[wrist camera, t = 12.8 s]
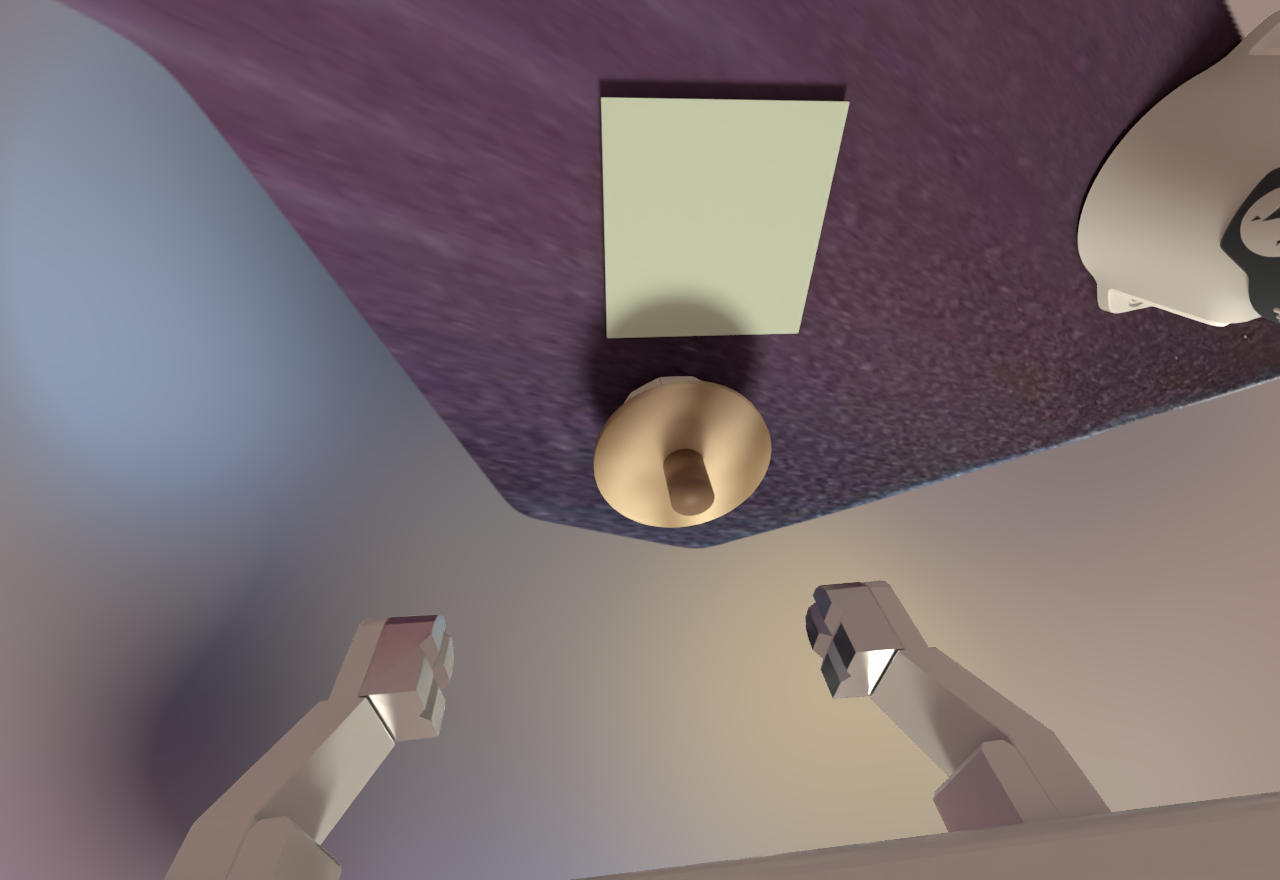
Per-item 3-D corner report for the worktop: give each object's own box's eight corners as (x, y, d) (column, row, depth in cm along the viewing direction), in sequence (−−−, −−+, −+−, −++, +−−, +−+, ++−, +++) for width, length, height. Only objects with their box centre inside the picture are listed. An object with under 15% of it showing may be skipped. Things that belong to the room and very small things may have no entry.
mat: (843, 101, 31) (849, 101, 30) (794, 328, 39) (798, 333, 39) (600, 97, 29) (601, 97, 29) (606, 333, 38) (607, 338, 37)
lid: (781, 376, 36) (807, 414, 32) (753, 514, 44) (770, 557, 40) (589, 384, 35) (590, 424, 31) (597, 524, 43) (599, 569, 39)
